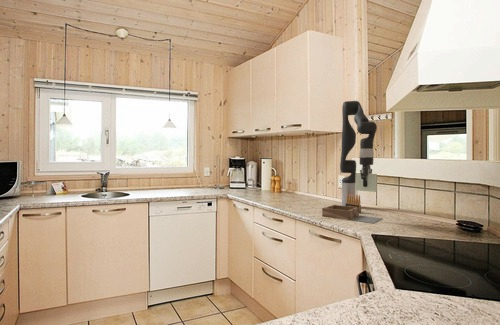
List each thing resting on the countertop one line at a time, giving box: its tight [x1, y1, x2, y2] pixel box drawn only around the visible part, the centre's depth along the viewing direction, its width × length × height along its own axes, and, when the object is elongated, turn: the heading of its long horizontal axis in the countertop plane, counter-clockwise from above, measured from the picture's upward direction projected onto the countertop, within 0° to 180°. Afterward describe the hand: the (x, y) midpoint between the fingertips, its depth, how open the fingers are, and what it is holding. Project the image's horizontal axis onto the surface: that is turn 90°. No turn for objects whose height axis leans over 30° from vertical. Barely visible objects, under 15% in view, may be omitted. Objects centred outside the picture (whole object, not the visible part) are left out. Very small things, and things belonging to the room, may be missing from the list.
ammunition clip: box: [346, 193, 362, 214], centre depth 212 cm, size 11×2×12 cm, turn 37°
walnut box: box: [321, 204, 360, 221], centre depth 199 cm, size 16×16×5 cm
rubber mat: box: [350, 215, 383, 225], centre depth 188 cm, size 16×13×1 cm
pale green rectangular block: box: [356, 172, 378, 193], centre depth 188 cm, size 2×11×10 cm, turn 51°
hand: (366, 186), depth 188 cm, fingers closed on pale green rectangular block, 2 cm apart
